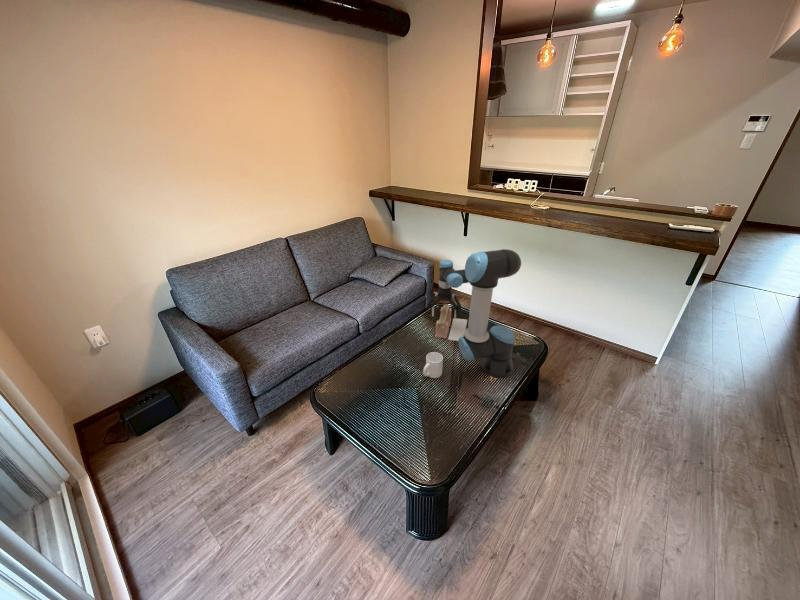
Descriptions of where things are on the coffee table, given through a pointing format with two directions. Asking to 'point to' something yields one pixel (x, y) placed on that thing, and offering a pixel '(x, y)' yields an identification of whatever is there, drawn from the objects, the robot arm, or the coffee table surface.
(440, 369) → the mug
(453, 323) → the mat
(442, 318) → the rail
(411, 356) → the coffee table surface
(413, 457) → the coffee table surface
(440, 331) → the stand
